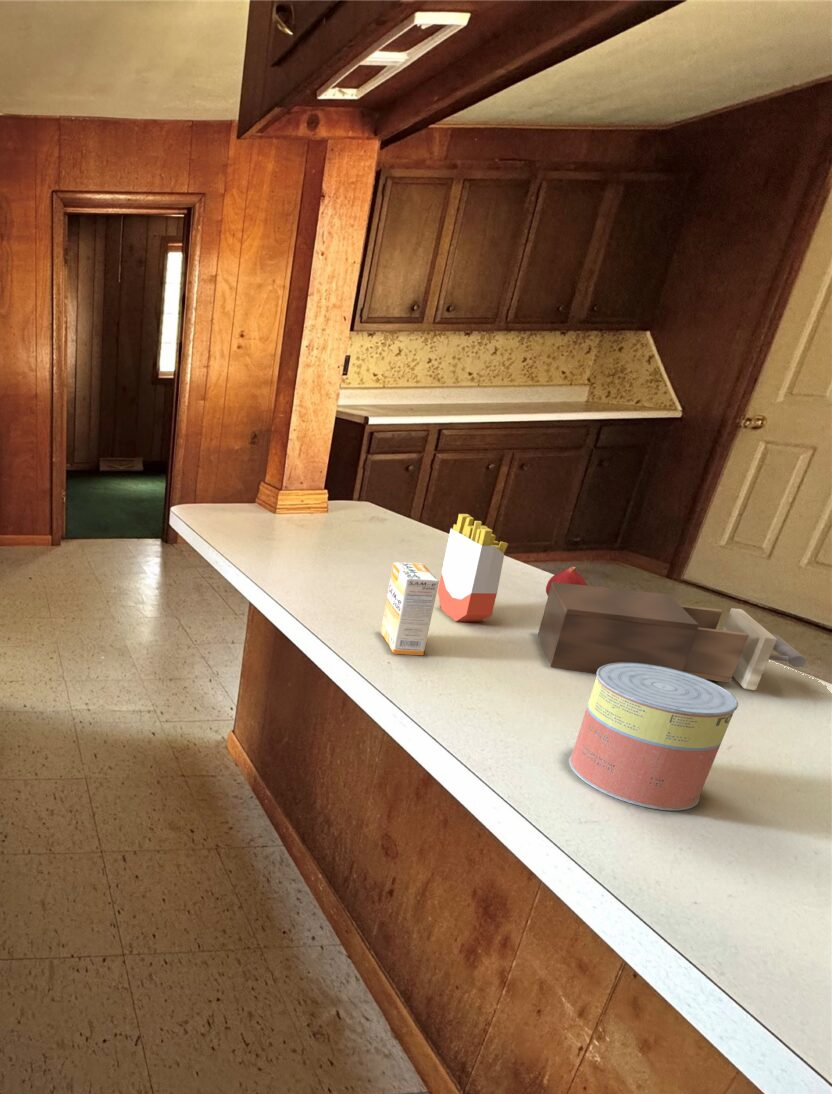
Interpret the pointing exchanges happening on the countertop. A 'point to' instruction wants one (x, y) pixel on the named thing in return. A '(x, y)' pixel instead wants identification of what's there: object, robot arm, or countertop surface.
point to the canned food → (651, 734)
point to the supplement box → (409, 608)
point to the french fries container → (470, 571)
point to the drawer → (734, 648)
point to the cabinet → (613, 628)
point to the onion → (566, 578)
